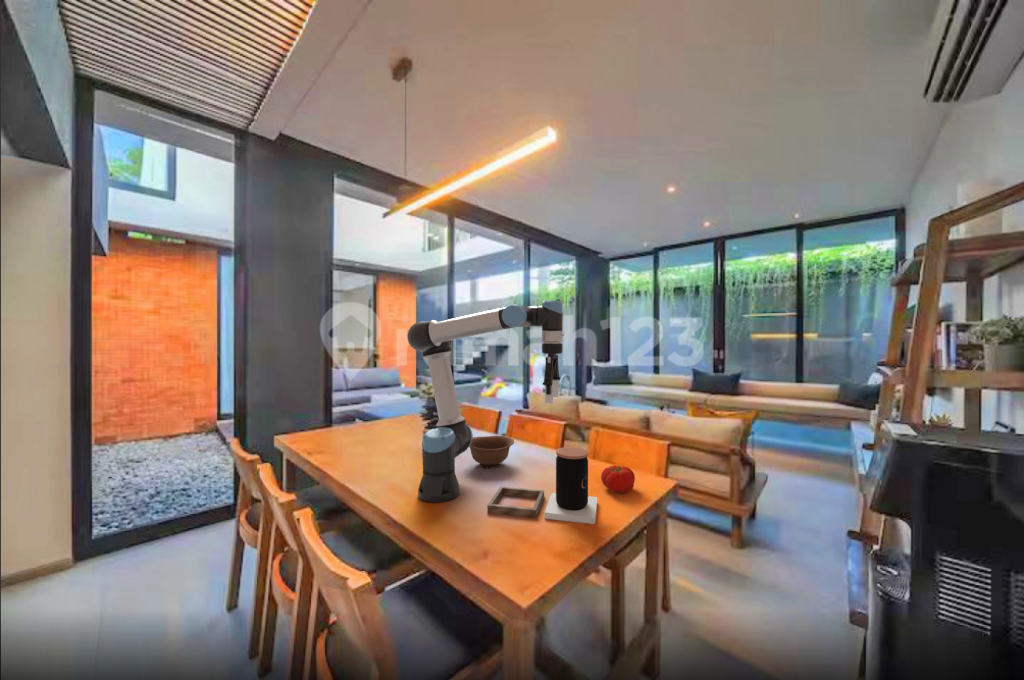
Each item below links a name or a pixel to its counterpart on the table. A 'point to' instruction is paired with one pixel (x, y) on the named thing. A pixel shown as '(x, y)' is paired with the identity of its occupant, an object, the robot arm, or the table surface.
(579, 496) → the coffee jar
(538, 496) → the holder
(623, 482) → the tomato
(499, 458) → the bowl
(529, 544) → the table surface
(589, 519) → the tile
